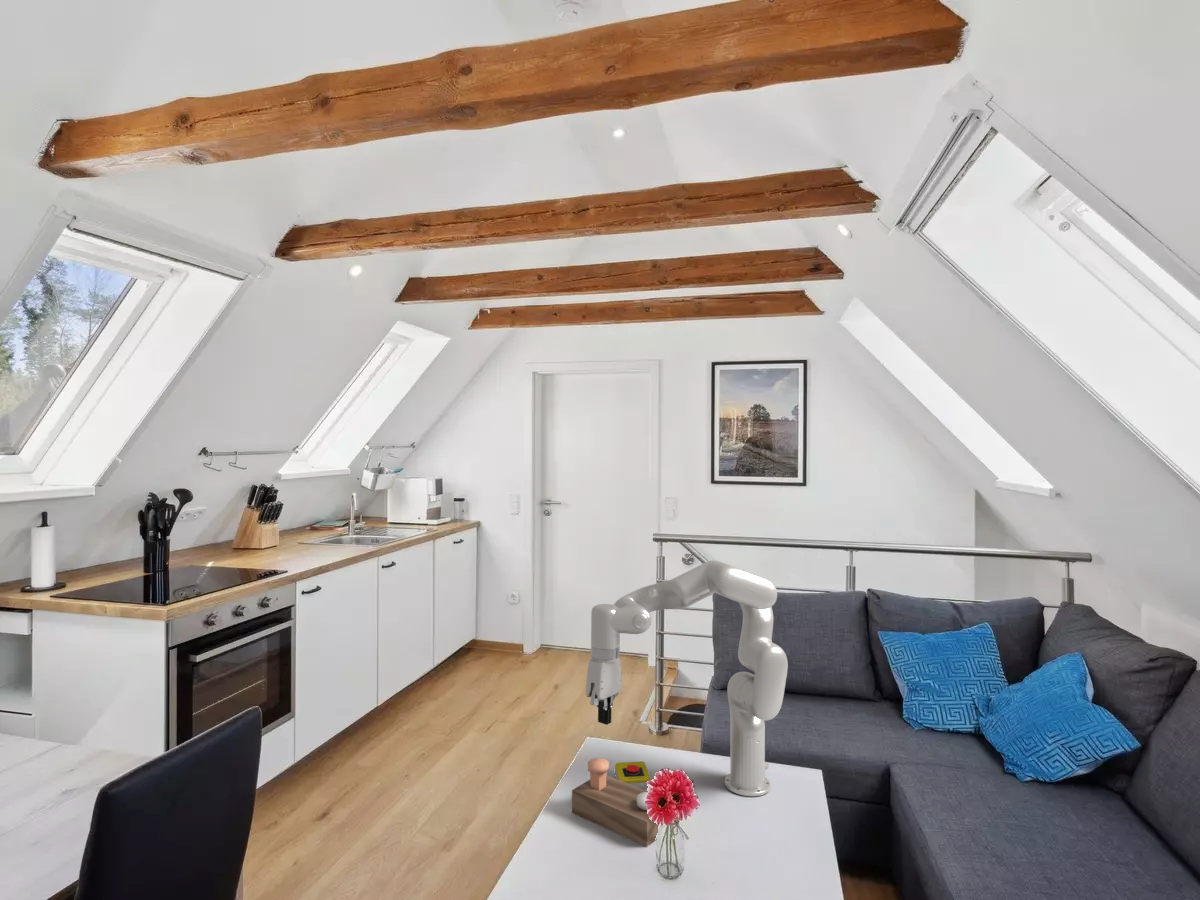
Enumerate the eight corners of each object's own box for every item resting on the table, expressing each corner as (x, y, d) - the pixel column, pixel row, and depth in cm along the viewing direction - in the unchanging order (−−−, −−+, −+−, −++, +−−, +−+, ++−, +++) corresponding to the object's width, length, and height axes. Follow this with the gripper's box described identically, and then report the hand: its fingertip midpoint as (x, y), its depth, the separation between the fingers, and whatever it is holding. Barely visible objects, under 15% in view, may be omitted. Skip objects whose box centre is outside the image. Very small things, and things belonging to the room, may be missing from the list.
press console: (600, 794, 186) (600, 772, 186) (674, 825, 171) (674, 801, 171) (571, 812, 177) (571, 789, 177) (647, 847, 162) (647, 822, 162)
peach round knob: (596, 784, 183) (596, 756, 183) (613, 790, 179) (613, 762, 179) (583, 792, 179) (583, 763, 179) (599, 799, 175) (599, 770, 175)
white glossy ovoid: (645, 819, 173) (645, 789, 173) (663, 827, 169) (663, 797, 169) (632, 829, 169) (632, 798, 169) (650, 837, 165) (650, 806, 165)
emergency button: (619, 779, 187) (613, 755, 202) (619, 795, 187) (613, 769, 202) (652, 777, 188) (643, 753, 203) (652, 793, 188) (643, 768, 203)
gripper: (611, 643, 186) (610, 710, 186) (575, 656, 174) (575, 727, 174) (633, 648, 181) (632, 717, 181) (598, 662, 169) (598, 735, 169)
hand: (604, 722), depth 177 cm, fingers closed
